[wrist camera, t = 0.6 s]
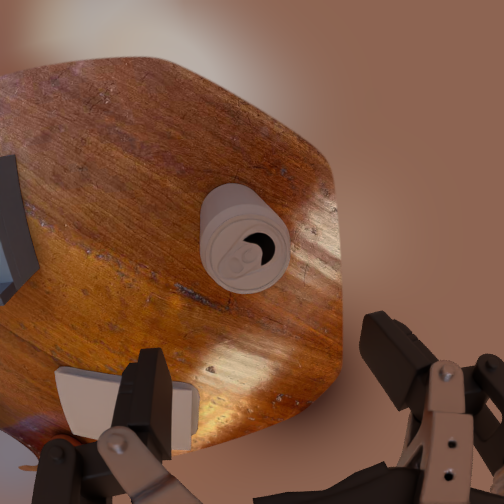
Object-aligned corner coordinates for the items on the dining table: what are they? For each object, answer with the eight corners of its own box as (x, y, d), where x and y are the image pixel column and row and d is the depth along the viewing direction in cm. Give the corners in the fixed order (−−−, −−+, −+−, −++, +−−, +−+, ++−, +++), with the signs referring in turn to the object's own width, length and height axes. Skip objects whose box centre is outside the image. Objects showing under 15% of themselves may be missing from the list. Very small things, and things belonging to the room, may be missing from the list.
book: (197, 437, 43) (198, 455, 40) (74, 421, 38) (70, 437, 35) (200, 382, 38) (201, 402, 34) (51, 362, 33) (43, 380, 30)
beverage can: (273, 219, 31) (312, 264, 20) (223, 253, 32) (236, 315, 21) (239, 169, 29) (264, 188, 18) (187, 206, 29) (179, 247, 18)
